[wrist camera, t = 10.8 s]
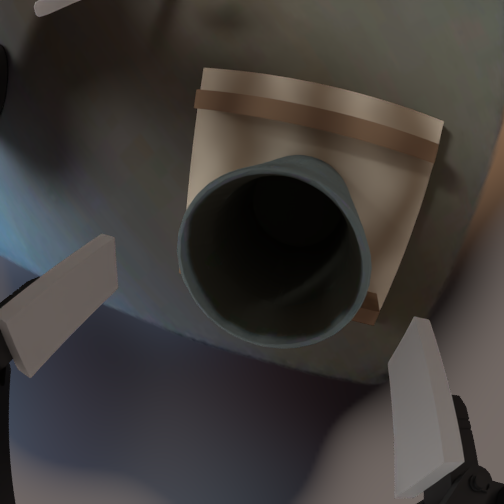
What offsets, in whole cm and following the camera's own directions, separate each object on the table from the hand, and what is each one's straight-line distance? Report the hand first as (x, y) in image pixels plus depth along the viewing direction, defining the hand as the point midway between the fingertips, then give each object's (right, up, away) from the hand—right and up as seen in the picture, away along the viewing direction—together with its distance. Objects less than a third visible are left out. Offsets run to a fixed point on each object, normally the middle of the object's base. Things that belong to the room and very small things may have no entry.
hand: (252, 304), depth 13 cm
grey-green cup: (+4, +6, +14) cm, 15 cm away
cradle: (+4, +7, +15) cm, 17 cm away
